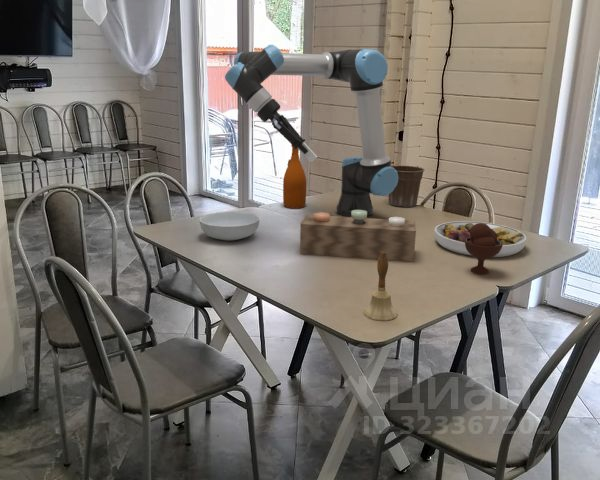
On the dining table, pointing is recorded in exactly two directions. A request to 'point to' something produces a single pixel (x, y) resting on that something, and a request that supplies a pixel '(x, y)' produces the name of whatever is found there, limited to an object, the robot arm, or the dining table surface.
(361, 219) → the sage button
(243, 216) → the serving bowl
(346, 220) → the console
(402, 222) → the cream button
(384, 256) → the hand bell
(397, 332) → the dining table surface
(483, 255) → the ice cream bowl
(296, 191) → the wine bottle
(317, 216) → the terracotta button
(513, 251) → the bowl
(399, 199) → the plant pot
